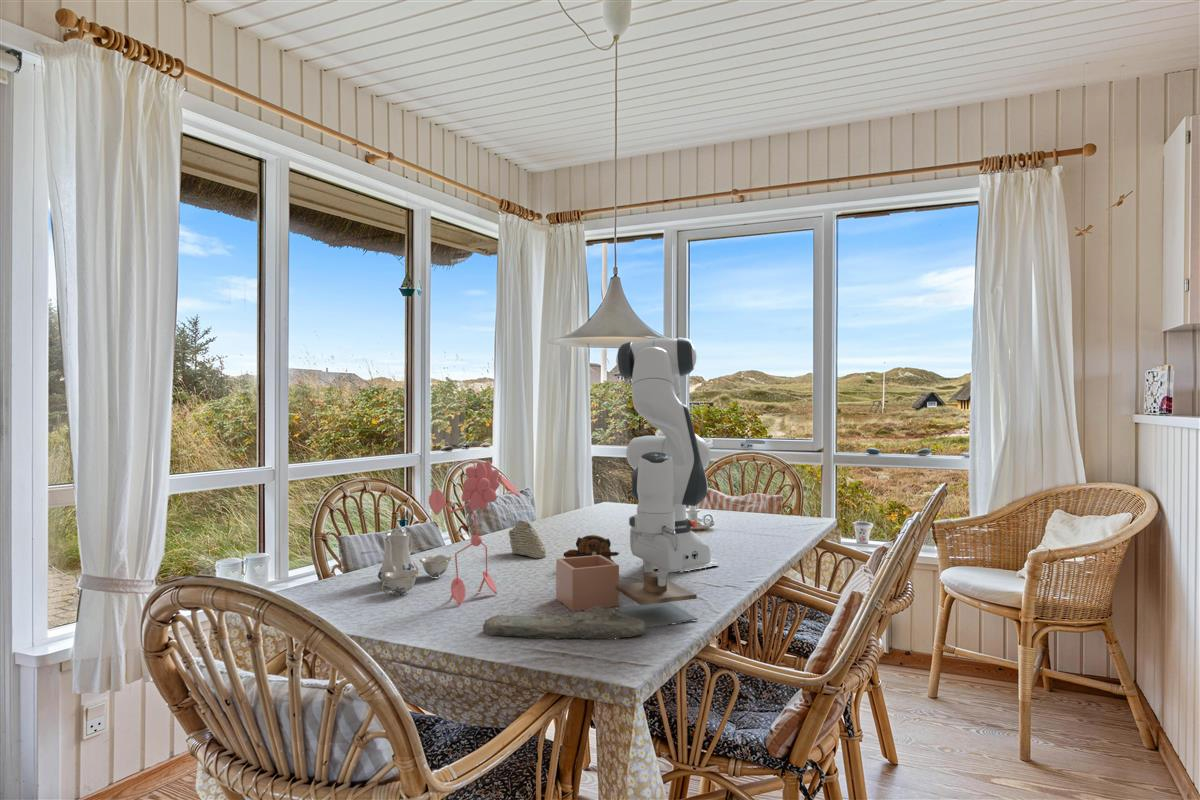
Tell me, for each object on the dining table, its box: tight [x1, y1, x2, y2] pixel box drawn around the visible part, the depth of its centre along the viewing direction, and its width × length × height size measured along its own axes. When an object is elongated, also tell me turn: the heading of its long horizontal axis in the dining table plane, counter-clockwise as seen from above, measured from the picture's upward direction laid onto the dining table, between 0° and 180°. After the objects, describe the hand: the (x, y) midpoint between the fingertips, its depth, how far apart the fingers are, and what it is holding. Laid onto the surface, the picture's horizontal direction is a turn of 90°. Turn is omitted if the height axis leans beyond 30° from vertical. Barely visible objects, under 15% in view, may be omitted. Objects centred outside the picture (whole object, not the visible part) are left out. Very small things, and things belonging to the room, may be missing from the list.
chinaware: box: [377, 523, 453, 596], centre depth 192 cm, size 28×17×17 cm, turn 169°
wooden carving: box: [563, 534, 620, 563], centre depth 208 cm, size 16×5×10 cm, turn 92°
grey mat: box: [615, 602, 698, 629], centre depth 165 cm, size 14×14×1 cm
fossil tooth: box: [508, 518, 547, 559], centre depth 227 cm, size 12×6×15 cm
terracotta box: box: [555, 555, 620, 612], centre depth 176 cm, size 12×12×10 cm
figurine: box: [428, 459, 521, 606], centre depth 175 cm, size 15×26×35 cm, turn 139°
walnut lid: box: [615, 571, 697, 605], centre depth 165 cm, size 14×14×4 cm
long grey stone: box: [482, 605, 646, 640], centre depth 153 cm, size 35×5×10 cm
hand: (655, 582), depth 165 cm, fingers closed on walnut lid, 4 cm apart
